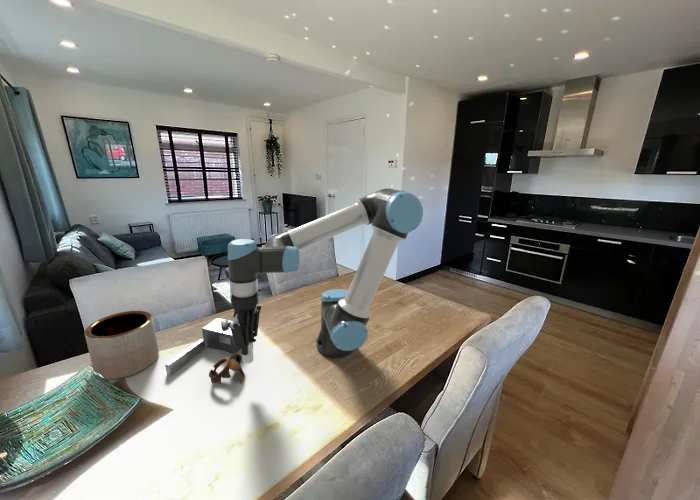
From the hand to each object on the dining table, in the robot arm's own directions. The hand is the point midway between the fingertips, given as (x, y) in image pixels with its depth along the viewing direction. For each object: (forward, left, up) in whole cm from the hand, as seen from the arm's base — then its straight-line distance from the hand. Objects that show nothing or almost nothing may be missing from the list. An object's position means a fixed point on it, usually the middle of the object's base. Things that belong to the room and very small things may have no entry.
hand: (247, 360), depth 88 cm
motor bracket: (+21, -6, -8) cm, 23 cm away
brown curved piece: (+7, 0, -9) cm, 11 cm away
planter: (+45, +6, -9) cm, 46 cm away
